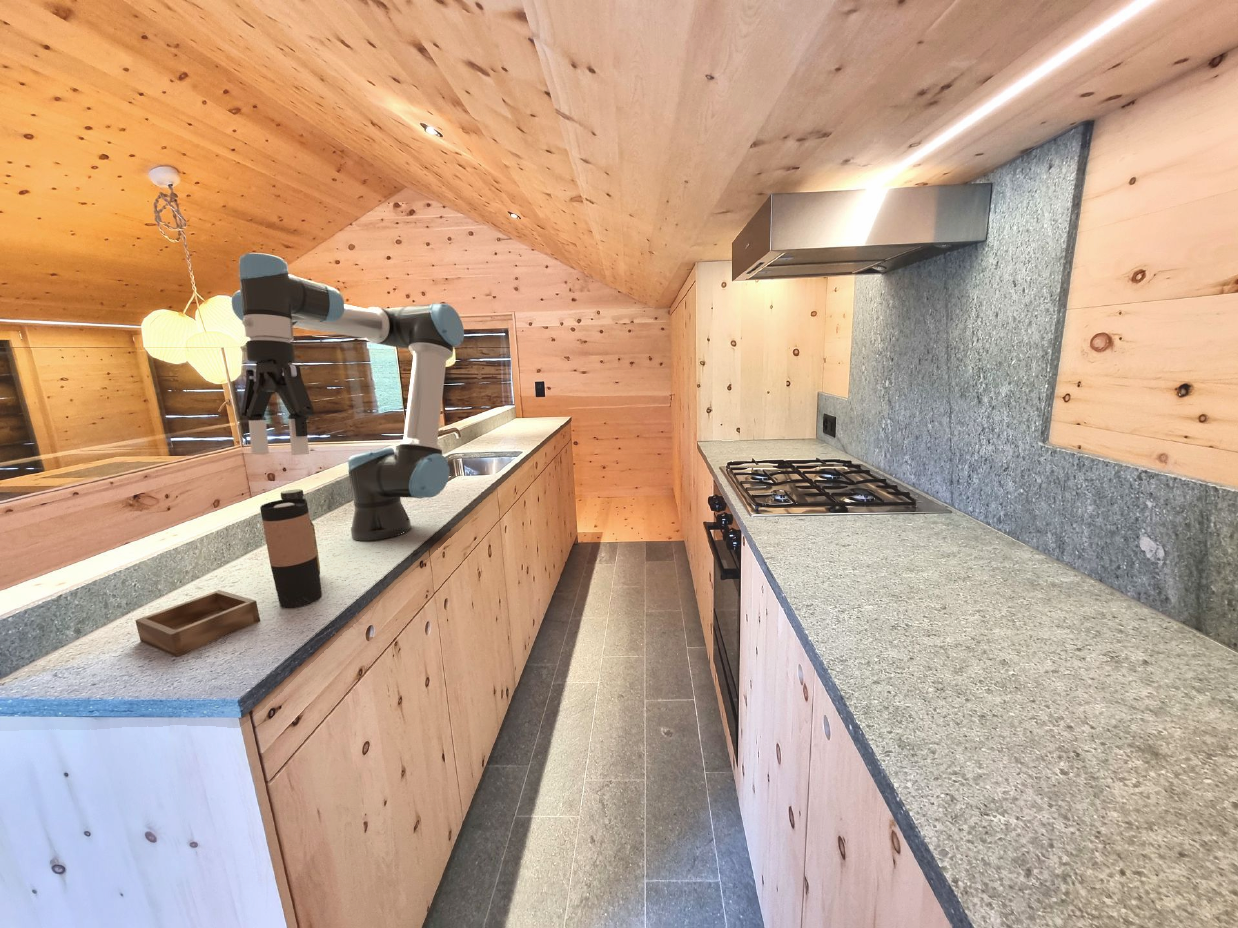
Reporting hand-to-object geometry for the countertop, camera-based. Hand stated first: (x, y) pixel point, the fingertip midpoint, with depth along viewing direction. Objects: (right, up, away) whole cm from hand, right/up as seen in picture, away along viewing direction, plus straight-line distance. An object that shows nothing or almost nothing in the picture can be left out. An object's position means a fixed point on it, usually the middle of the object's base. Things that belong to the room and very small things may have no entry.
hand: (279, 454), depth 96 cm
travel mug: (+2, -29, +3) cm, 29 cm away
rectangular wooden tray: (-9, -32, -8) cm, 34 cm away
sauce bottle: (-3, -27, +14) cm, 31 cm away
